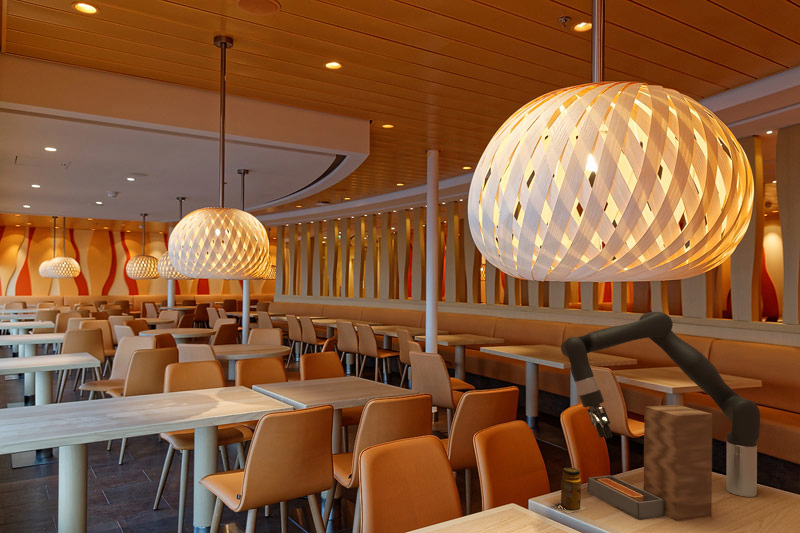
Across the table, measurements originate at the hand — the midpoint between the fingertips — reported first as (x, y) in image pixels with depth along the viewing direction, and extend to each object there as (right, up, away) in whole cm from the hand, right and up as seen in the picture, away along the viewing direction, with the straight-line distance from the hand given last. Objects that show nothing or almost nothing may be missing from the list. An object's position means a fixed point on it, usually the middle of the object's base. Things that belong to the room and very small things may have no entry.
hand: (606, 437), depth 200 cm
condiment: (-18, -18, -15) cm, 30 cm away
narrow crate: (+1, -18, -8) cm, 20 cm away
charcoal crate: (+2, -19, -11) cm, 22 cm away
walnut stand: (+17, -19, -15) cm, 30 cm away
